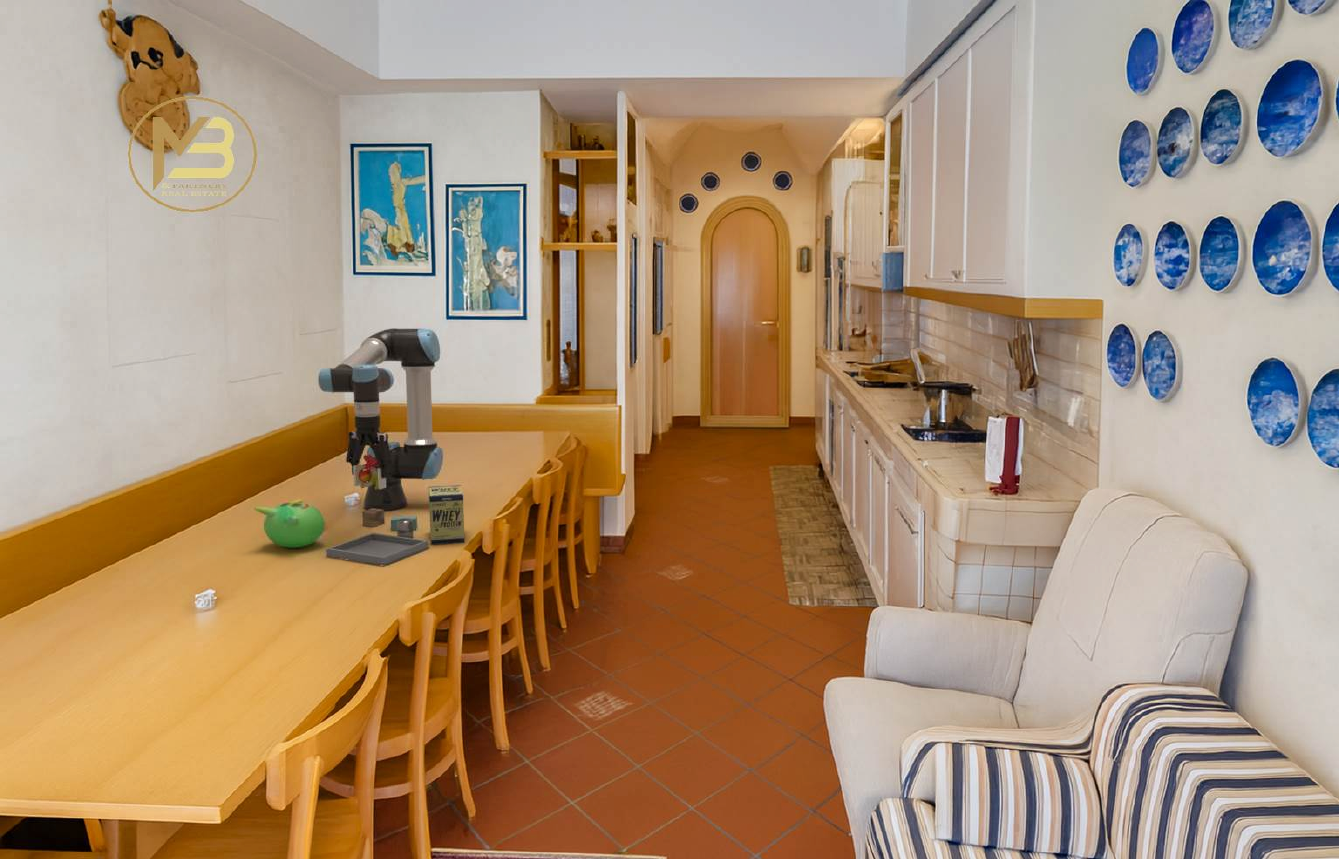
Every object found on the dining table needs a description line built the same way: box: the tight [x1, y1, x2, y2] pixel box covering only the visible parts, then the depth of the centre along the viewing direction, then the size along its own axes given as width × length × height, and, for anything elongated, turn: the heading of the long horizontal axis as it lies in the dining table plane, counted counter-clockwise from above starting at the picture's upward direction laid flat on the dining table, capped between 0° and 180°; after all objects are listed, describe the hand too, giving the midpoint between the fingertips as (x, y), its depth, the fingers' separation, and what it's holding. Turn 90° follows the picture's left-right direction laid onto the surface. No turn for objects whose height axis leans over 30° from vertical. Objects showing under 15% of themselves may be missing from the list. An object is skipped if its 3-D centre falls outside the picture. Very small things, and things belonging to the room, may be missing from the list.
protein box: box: [428, 485, 465, 545], centre depth 304 cm, size 10×16×16 cm
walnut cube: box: [361, 508, 385, 528], centre depth 319 cm, size 5×5×5 cm
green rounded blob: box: [253, 497, 325, 549], centre depth 292 cm, size 18×17×15 cm
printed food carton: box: [355, 454, 379, 490], centre depth 294 cm, size 6×11×9 cm
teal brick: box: [390, 515, 418, 532], centre depth 314 cm, size 4×8×4 cm, turn 99°
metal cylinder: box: [396, 519, 415, 539], centre depth 303 cm, size 5×5×6 cm
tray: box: [325, 532, 430, 567], centre depth 287 cm, size 20×22×2 cm
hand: (370, 486), depth 295 cm, fingers closed on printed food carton, 9 cm apart
